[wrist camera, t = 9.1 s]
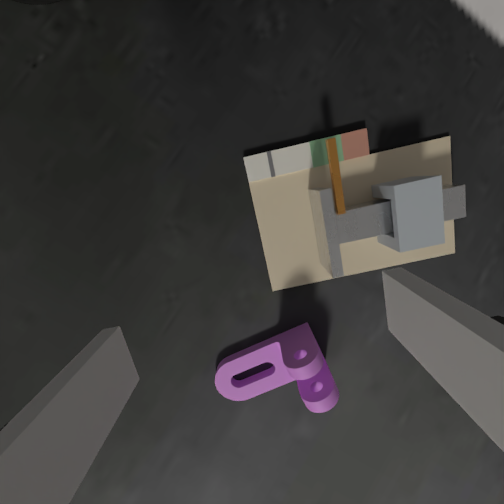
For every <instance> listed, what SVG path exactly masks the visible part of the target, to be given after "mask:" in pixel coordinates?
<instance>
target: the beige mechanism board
mask: <svg viewBox="0 0 504 504" xmlns="http://www.w3.org/2000/svg"><path fill="white" fill-rule="evenodd" d="M330 138H336V146H337V153H338V160H339V167H340V174H341V182H342V189H343V196H344V203H345V207H346V206H351V205H355V204H360V203H364V202H369V201H373V200H378V199H382V198H383V199H391V207H392V218H393V228H394V232H393V233H388V234H384V235H379V236H375V237H370V238H365V239H361V240H356V241H351V242H347V243H342V244H339V245H340V252H341V259H342V266H343V272H344V276H347V275H352V274H357V273H362V272H366V271H371V270H376V269H381V268H386V267H390V266H395V265H400V264H405V263H409V262H414V261H419V260H424V259H428V258H433V257H438V256H443V255H447V254H452V253H455V240H454V219H453V220H449V221H444V213H443V194H442V185H445V184H452V168H451V145H450V136H447V137H443V138H439V139H434V140H430V141H426V142H421V143H417V144H413V145H408V146H404V147H400V148H395V149H391V150H387V151H382V152H378V153H374V154H370V153H369V144H368V135H367V128H365V129H361V130H356V131H352V132H348V133H344V134H339V135H335V136H331V137H327V138H322V139H318V140H314V141H310V142H307V143H302V144H298V145H294V146H290V147H285V148H281V149H277V150H273V151H267V152H264V153H260V154H256V155H251V156H247V157H243V158H244V163H245V167H246V172H247V176H248V181H249V185H250V190H251V194H252V199H253V204H254V208H255V213H256V217H257V222H258V226H259V231H260V235H261V240H262V245H263V249H264V254H265V258H266V263H267V267H268V272H269V277H270V281H271V286H272V290H273V291H276V290H281V289H286V288H290V287H295V286H300V285H305V284H309V283H314V282H319V281H324V280H328V279H333V277H332V276H331V275H330V274H329V273H328V272H327V271H326V269H325V268H324V267H323V266H322V265H321V263H320V257H319V251H318V245H317V239H316V233H315V227H314V221H313V215H312V209H311V204H310V198H309V192H308V189H313V188H317V187H320V188H331V191H332V198H333V205H334V209H335V202H334V196H333V189H332V182H331V175H330V168H329V162H328V155H327V148H326V141H325V140H327V139H330ZM341 277H343V276H341ZM337 278H338V277H337Z"/></svg>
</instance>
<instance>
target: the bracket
mask: <svg viewBox="0 0 504 504" xmlns="http://www.w3.org/2000/svg"><path fill="white" fill-rule="evenodd" d="M265 362H270V363H272V364H273V366H272V367H271V368H269V369H267V370H264V371H262V372H260V373H257V374H255V375H252V376H250V377H248V378H245V379H243V380H235V379H234V378H233V376H234V375H236V374H239V373H241V372H243V371H246V370H248V369H250V368H253V367H255V366H258V365H260V364H262V363H265ZM294 380H297V384H298V388H299V393H300V396H301V398H302V399H303V401H304V403H305V405H306V407H307V408H308V409H309V410H310V411H312V412H315V413H322V412H326V411H328V410H330V409H332V408H333V407H334V406H335V405H336V403H337V402H338V399H339V391H338V388H337V386H336V384H335V381H334V379H333V377H332V374H331V372H330V370H329V367H328V365H327V363H326V360H325V358H324V356H323V354H322V352H321V350H320V348H319V345H318V343H317V341H316V339H315V337H314V335H313V333H312V331H311V329H310V327H309V324H308V322H306V323H304V324H302V325H299V326H297V327H295V328H292V329H290V330H288V331H285V332H283V333H281V334H278V335H276V336H274V337H271V338H269V339H267V340H264V341H262V342H260V343H257V344H255V345H253V346H250V347H248V348H246V349H243V350H241V351H239V352H236V353H234V354H232V355H229V356H227V357H225V358H224V359H223V360H222V361H221V362H220V363H219V365H218V367H217V370H216V375H215V385H216V388H217V390H218V391H219V393H220V394H221V395H223V396H224V397H226V398H228V399H230V400H234V401H243V400H247V399H250V398H252V397H255V396H257V395H260V394H262V393H265V392H267V391H270V390H272V389H275V388H277V387H279V386H282V385H284V384H287V383H289V382H292V381H294Z"/></svg>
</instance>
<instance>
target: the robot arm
mask: <svg viewBox="0 0 504 504" xmlns="http://www.w3.org/2000/svg"><path fill="white" fill-rule="evenodd" d="M13 1H17V2H21V3H26V4H49V3H54V2H58V1H61V0H13ZM382 276H383V285H384V294H385V303H386V312H387V321H388V330H389V331H390V332H391V333H392V334H393V335H394V336H395V337H396V338H397V339H398V340H399V341H400V342H401V343H402V345H403V346H404V347H405V348H406V349H407V350H408V351H409V352H410V353H411V354H412V355H413V356H414V357H415V358H416V359H417V360H418V362H419V363H420V364H421V365H422V366H423V367H424V368H425V369H426V370H427V371H428V372H429V373H430V374H431V375H432V376H433V377H434V379H435V380H436V381H437V382H438V383H439V384H440V385H441V386H442V387H443V388H444V389H445V390H446V391H447V392H448V393H449V394H450V395H451V397H452V398H453V399H454V400H455V401H456V402H457V403H458V404H459V405H460V406H461V407H462V408H463V409H464V410H465V411H466V412H467V414H468V415H469V416H470V417H471V418H472V419H473V420H474V421H475V422H476V423H477V424H478V425H479V426H480V427H481V428H482V429H483V431H484V432H485V433H486V434H487V435H488V436H489V437H490V438H491V439H492V440H493V441H494V442H495V443H496V444H497V445H498V446H499V448H500V449H501V450H502V451H503V452H504V317H501V316H494V317H488V316H487V315H485V314H483V313H481V312H479V311H478V310H476V309H474V308H472V307H471V306H469V305H467V304H465V303H463V302H462V301H460V300H458V299H456V298H455V297H453V296H451V295H449V294H447V293H446V292H444V291H442V290H440V289H438V288H437V287H435V286H433V285H431V284H430V283H428V282H426V281H424V280H422V279H421V278H419V277H417V276H415V275H413V274H412V273H410V272H408V271H406V270H405V269H403V268H401V267H399V268H394V269H390V270H385V271H382ZM138 381H139V376H138V374H137V371H136V368H135V366H134V363H133V360H132V358H131V355H130V352H129V350H128V347H127V345H126V342H125V339H124V337H123V334H122V331H121V329H120V326H117V327H113V328H108V329H103V330H102V331H101V332H100V333H99V334H98V335H97V336H96V337H95V338H94V339H93V340H92V341H91V342H90V343H89V344H88V345H87V346H86V347H85V348H84V349H83V350H82V351H81V352H80V353H79V354H78V355H77V356H76V357H75V358H74V359H73V360H72V361H71V362H70V363H68V364H67V365H66V366H65V367H64V368H63V369H62V370H61V371H60V372H59V373H58V374H57V375H56V376H55V377H54V378H53V379H52V380H51V381H50V382H49V383H48V384H47V385H46V386H45V387H44V388H43V389H42V390H41V391H40V392H39V393H38V394H37V395H36V396H35V397H34V398H33V399H32V400H31V401H30V402H29V403H28V404H27V405H26V406H25V407H24V408H23V409H22V410H21V411H20V412H19V413H18V414H17V415H16V416H15V417H14V418H13V419H12V420H11V421H10V422H9V423H7V424H6V425H5V426H4V427H3V428H2V429H1V430H0V504H69V503H70V501H71V500H72V498H73V496H74V494H75V492H76V491H77V489H78V487H79V485H80V484H81V482H82V480H83V478H84V477H85V475H86V473H87V471H88V469H89V468H90V466H91V464H92V462H93V461H94V459H95V457H96V455H97V454H98V452H99V450H100V448H101V447H102V445H103V443H104V441H105V439H106V438H107V436H108V434H109V432H110V431H111V429H112V427H113V425H114V424H115V422H116V420H117V418H118V416H119V415H120V413H121V411H122V409H123V408H124V406H125V404H126V402H127V401H128V399H129V397H130V395H131V393H132V392H133V390H134V388H135V386H136V385H137V383H138Z"/></svg>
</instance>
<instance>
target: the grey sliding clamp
mask: <svg viewBox="0 0 504 504" xmlns="http://www.w3.org/2000/svg"><path fill="white" fill-rule="evenodd" d="M325 141H326V148H327V155H328V162H329V168H330V175H331V182H332V189H333V196H334V202H335V209H334V205H333V198H332V191H331V188H320V187H317V188H313V189H308V192H309V198H310V204H311V209H312V215H313V221H314V227H315V233H316V239H317V245H318V251H319V257H320V263H321V265H322V266H323V267H324V268H325V269H326V271H327V272H328V273H329V274H330V275H331V276H332V277H333V278H337V277H341V276H344V272H343V266H342V259H341V252H340V245H339V244H342V243H347V242H351V241H356V240H361V239H365V238H370V237H375V236H379V235H384V234H388V233H393V232H394V228H393V218H392V207H391V199H383V198H382V199H378V200H373V201H369V202H364V203H360V204H355V205H351V206H346V207H345V203H344V196H343V189H342V182H341V174H340V167H339V160H338V153H337V146H336V138H330V139H327V140H325ZM442 194H443V213H444V221H449V220H453V219H458V218H463V217H466V201H465V185H453V184H445V185H442Z"/></svg>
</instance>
